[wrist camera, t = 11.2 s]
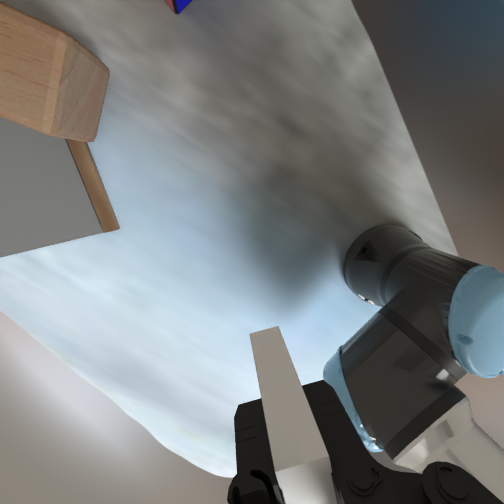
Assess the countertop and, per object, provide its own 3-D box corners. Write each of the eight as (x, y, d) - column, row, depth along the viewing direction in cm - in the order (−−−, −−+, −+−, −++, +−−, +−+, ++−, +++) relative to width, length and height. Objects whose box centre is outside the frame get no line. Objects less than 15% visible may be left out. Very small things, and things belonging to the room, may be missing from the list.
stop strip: (52, 52, 35) (46, 48, 34) (120, 228, 42) (117, 229, 41) (36, 55, 35) (30, 52, 33) (107, 231, 42) (104, 232, 41)
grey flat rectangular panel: (32, 56, 35) (30, 55, 34) (104, 231, 42) (103, 232, 42) (-114, 85, 33) (-118, 84, 33) (-14, 260, 41) (-16, 261, 40)
